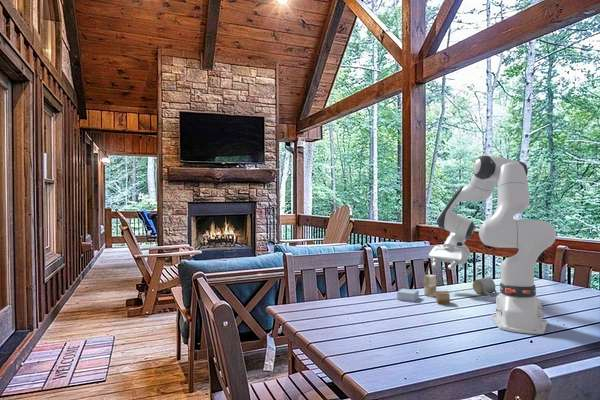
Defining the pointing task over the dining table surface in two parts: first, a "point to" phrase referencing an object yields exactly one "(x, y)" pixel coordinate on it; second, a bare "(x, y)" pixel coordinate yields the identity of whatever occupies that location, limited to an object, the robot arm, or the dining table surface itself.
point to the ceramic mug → (484, 286)
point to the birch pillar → (430, 285)
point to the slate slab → (408, 295)
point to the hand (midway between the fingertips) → (441, 267)
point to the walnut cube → (443, 297)
